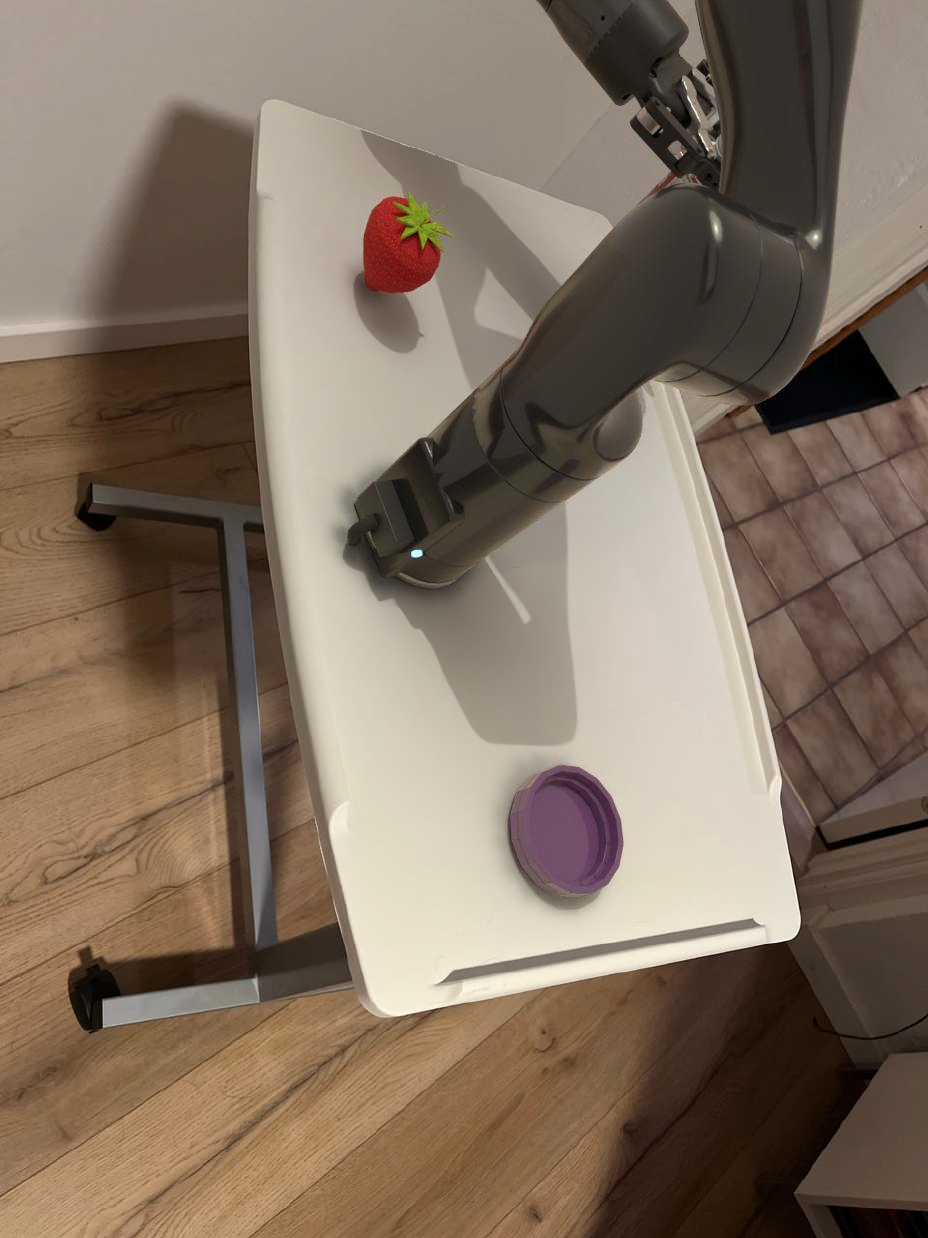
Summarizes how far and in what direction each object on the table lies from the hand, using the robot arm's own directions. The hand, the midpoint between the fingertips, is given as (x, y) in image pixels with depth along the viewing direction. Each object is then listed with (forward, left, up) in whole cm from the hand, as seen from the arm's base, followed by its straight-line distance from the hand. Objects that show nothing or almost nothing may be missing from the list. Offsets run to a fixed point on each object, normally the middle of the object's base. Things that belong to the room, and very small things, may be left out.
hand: (747, 188), depth 75 cm
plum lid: (-28, -43, -20) cm, 55 cm away
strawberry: (-25, +4, -20) cm, 33 cm away
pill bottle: (-1, +2, -9) cm, 10 cm away
